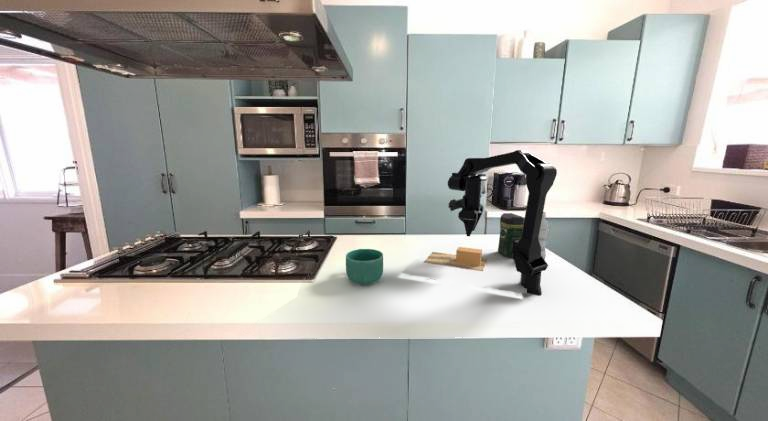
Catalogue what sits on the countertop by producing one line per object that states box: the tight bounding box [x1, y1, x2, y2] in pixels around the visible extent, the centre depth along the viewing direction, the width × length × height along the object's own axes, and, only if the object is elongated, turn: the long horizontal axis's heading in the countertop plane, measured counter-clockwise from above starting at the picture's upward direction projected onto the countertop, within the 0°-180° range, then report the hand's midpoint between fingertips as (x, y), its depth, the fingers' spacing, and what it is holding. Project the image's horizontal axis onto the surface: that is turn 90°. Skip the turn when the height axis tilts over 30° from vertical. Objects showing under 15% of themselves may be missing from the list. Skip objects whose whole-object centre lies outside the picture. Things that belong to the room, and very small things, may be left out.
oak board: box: [423, 251, 488, 272], centre depth 119 cm, size 14×22×2 cm, turn 66°
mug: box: [345, 248, 384, 286], centre depth 104 cm, size 17×13×10 cm
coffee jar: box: [497, 212, 525, 259], centre depth 125 cm, size 10×8×19 cm
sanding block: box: [455, 246, 483, 266], centre depth 116 cm, size 5×9×5 cm, turn 66°
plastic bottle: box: [538, 211, 550, 261], centre depth 121 cm, size 6×7×20 cm
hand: (470, 233), depth 115 cm, fingers open, 9 cm apart
